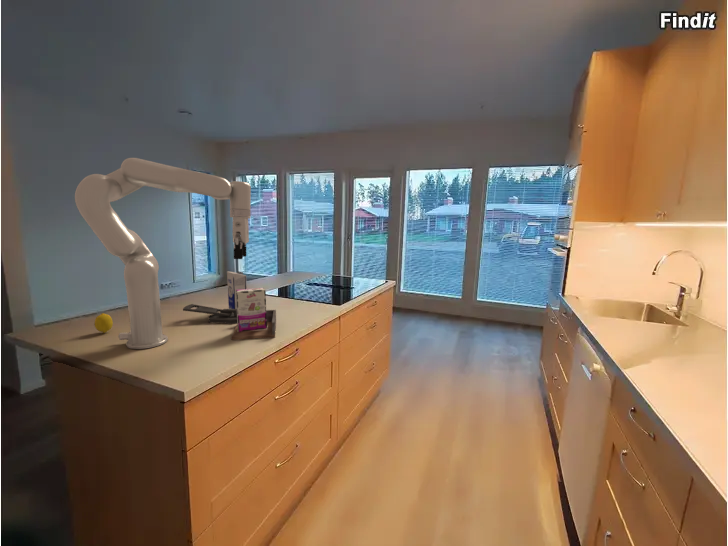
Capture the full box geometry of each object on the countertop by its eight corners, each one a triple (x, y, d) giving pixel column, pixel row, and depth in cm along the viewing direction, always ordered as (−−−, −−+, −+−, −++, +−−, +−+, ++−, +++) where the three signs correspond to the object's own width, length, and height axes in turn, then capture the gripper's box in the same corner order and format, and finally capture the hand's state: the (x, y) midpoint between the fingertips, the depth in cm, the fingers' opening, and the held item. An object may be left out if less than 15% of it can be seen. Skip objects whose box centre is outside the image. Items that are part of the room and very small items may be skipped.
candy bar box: (265, 325, 138) (264, 287, 135) (267, 328, 133) (266, 289, 130) (236, 328, 133) (235, 289, 130) (238, 332, 128) (236, 291, 126)
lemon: (117, 331, 129) (115, 312, 128) (102, 336, 124) (100, 316, 123) (106, 329, 131) (104, 310, 129) (92, 334, 125) (89, 314, 124)
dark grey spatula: (190, 303, 149) (245, 304, 150) (191, 317, 150) (246, 318, 151) (180, 308, 140) (238, 309, 141) (181, 323, 141) (239, 324, 142)
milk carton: (228, 310, 162) (226, 270, 159) (241, 308, 167) (240, 269, 164) (233, 313, 157) (232, 272, 154) (247, 311, 162) (246, 271, 158)
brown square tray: (231, 340, 123) (230, 324, 122) (238, 325, 141) (237, 311, 140) (275, 337, 127) (274, 322, 126) (276, 323, 144) (275, 309, 143)
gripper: (247, 214, 119) (247, 260, 122) (253, 215, 136) (252, 255, 139) (225, 213, 118) (225, 259, 120) (234, 214, 134) (234, 255, 137)
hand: (240, 257), depth 129 cm, fingers open, 9 cm apart
